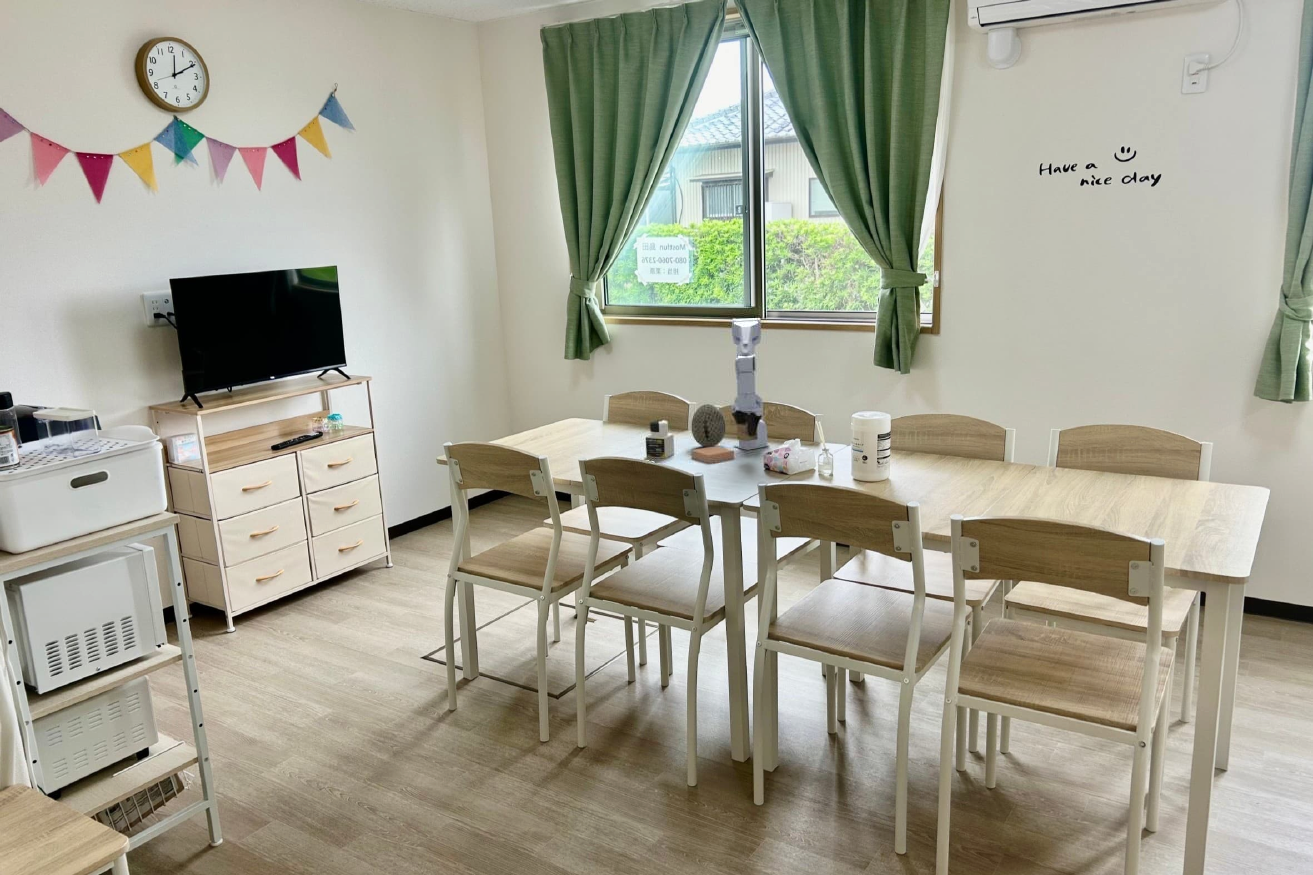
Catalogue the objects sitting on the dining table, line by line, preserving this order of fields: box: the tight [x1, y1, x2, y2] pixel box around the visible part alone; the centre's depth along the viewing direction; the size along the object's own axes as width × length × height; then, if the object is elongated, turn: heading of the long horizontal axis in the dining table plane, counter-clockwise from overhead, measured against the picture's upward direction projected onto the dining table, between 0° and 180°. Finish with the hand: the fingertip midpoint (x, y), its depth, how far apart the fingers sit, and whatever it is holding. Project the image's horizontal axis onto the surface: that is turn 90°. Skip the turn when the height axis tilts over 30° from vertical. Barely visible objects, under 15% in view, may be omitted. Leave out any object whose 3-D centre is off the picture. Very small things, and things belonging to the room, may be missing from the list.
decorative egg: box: [690, 403, 726, 448], centre depth 332 cm, size 12×12×15 cm
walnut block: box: [736, 423, 758, 441], centre depth 309 cm, size 5×5×5 cm
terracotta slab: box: [691, 445, 735, 464], centre depth 316 cm, size 10×10×3 cm
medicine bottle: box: [645, 419, 675, 460], centre depth 322 cm, size 7×7×12 cm
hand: (747, 434), depth 310 cm, fingers closed on walnut block, 5 cm apart
